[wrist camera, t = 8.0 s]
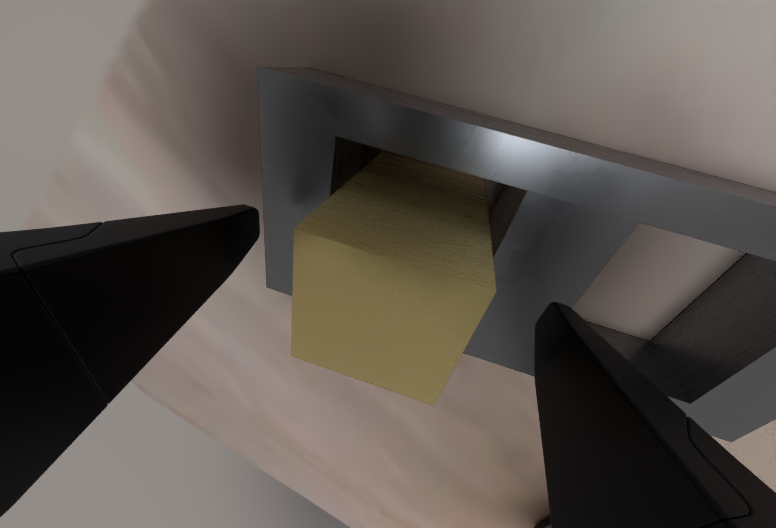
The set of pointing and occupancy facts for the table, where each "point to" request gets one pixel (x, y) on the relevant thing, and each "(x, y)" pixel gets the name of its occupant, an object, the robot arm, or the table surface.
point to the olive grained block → (393, 275)
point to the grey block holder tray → (544, 230)
